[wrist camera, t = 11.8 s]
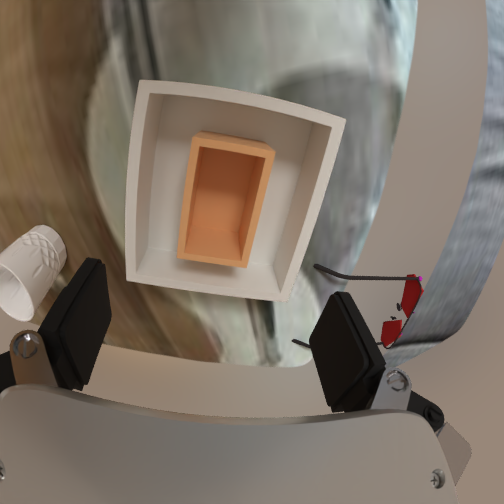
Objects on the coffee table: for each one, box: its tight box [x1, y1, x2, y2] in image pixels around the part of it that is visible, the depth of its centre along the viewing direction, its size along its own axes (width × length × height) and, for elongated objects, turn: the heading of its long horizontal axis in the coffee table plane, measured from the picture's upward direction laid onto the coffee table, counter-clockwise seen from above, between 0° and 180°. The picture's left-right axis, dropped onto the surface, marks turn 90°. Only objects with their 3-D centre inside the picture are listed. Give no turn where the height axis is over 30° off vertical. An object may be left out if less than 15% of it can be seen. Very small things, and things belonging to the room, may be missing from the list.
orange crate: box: [177, 130, 276, 268], centre depth 23 cm, size 10×6×6 cm, turn 168°
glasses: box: [292, 264, 424, 349], centre depth 35 cm, size 14×16×5 cm
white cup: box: [0, 225, 67, 321], centre depth 23 cm, size 8×8×10 cm
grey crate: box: [125, 80, 346, 302], centre depth 24 cm, size 18×16×6 cm
